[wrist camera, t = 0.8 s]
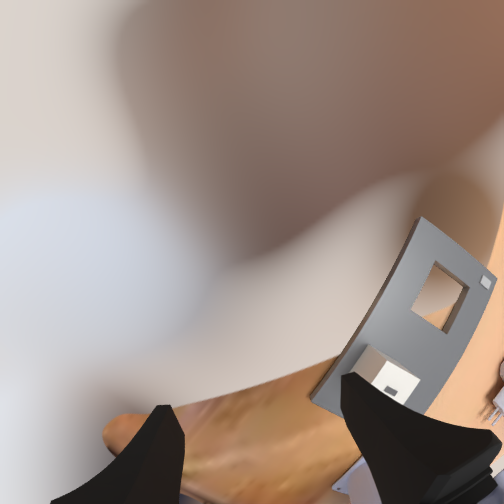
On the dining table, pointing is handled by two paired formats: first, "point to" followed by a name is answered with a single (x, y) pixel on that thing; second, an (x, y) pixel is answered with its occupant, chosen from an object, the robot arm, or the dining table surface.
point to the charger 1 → (386, 374)
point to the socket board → (416, 319)
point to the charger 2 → (499, 399)
